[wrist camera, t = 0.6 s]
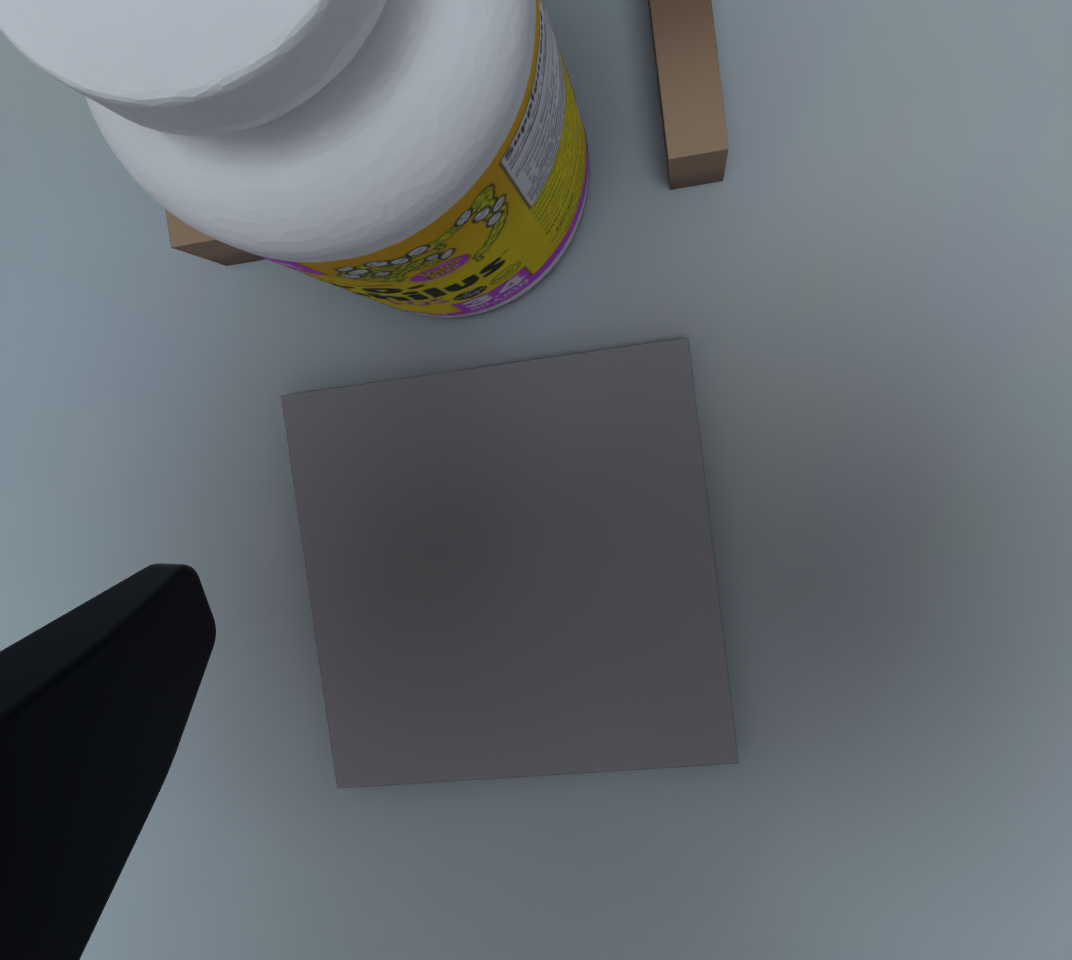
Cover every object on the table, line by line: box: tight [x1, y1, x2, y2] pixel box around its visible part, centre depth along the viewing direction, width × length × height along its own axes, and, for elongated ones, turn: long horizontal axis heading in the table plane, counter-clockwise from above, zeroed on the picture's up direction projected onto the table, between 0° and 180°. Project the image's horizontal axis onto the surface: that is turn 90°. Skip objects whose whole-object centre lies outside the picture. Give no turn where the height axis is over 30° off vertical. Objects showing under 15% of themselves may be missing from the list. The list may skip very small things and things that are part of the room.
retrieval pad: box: [281, 338, 738, 788], centre depth 22 cm, size 10×10×1 cm
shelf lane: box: [165, 0, 728, 266], centre depth 19 cm, size 7×12×5 cm, turn 98°
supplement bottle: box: [0, 0, 589, 318], centre depth 15 cm, size 7×7×13 cm
